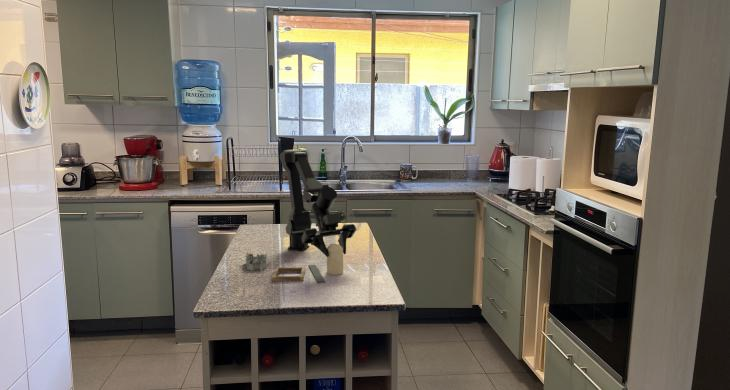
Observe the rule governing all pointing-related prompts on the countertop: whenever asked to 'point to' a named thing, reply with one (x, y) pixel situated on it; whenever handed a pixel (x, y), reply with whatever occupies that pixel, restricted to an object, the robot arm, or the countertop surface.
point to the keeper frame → (288, 278)
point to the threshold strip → (316, 274)
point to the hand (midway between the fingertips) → (336, 254)
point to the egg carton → (256, 261)
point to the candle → (335, 259)
